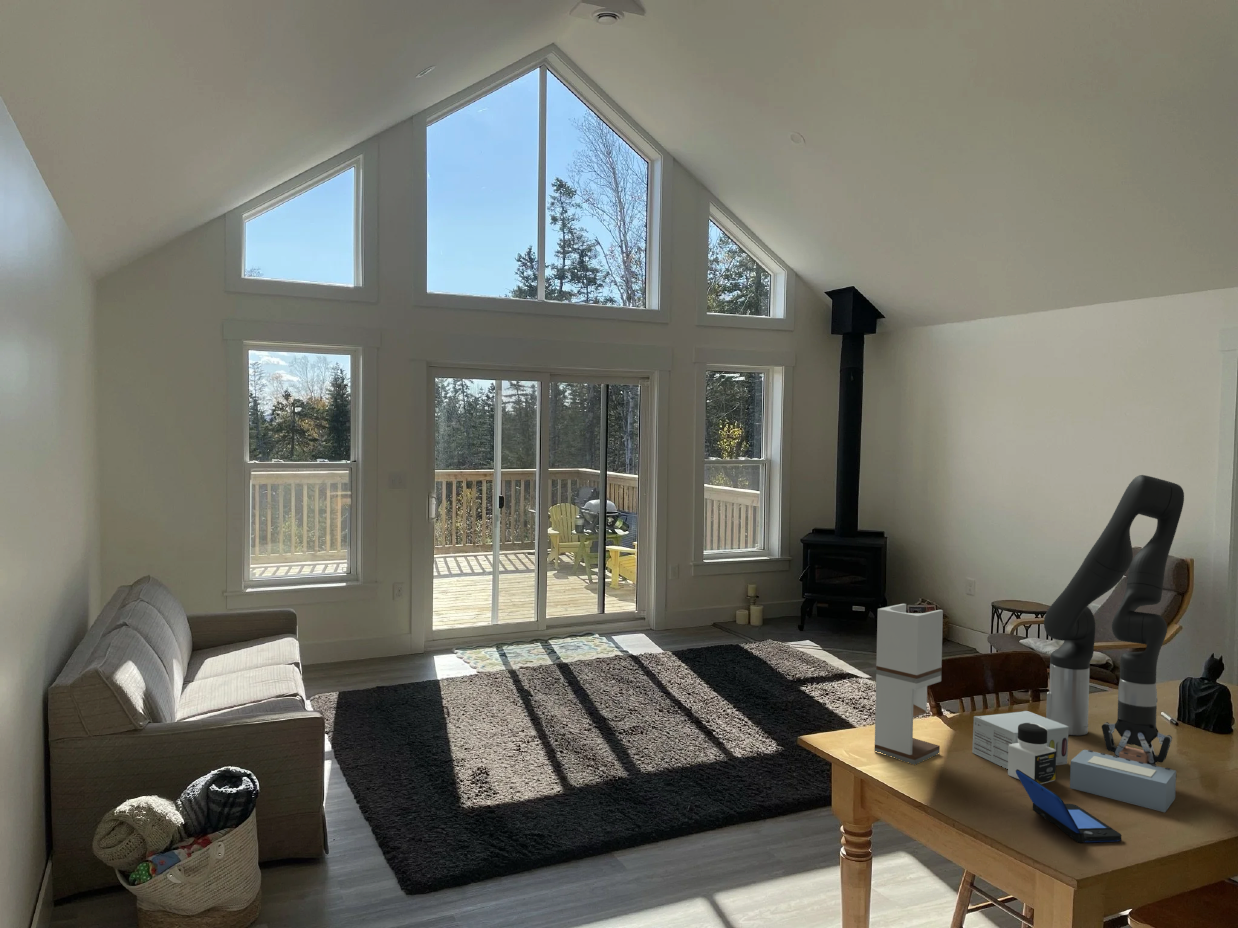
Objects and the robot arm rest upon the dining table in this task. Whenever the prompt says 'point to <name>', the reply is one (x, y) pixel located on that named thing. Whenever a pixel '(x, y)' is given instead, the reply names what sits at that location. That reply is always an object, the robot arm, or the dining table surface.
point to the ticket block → (1123, 780)
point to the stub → (1133, 754)
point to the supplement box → (1014, 735)
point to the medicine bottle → (1032, 754)
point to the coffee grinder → (905, 679)
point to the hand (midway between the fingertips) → (1135, 774)
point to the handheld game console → (1066, 814)
